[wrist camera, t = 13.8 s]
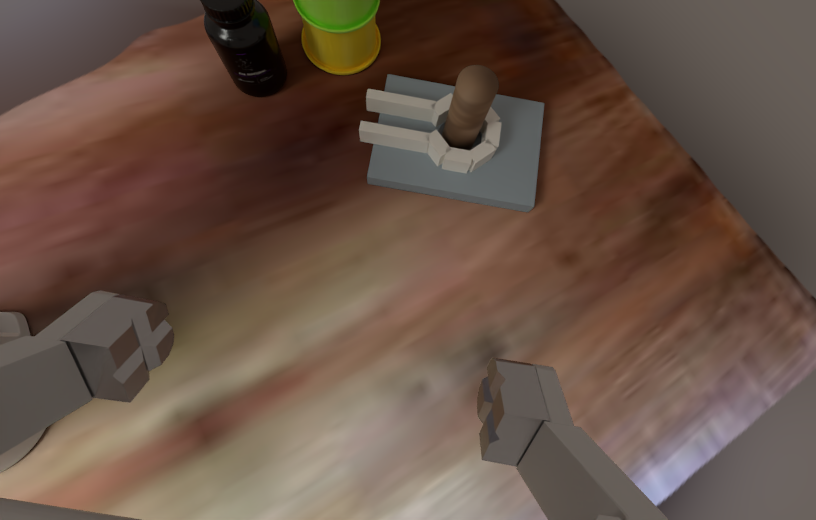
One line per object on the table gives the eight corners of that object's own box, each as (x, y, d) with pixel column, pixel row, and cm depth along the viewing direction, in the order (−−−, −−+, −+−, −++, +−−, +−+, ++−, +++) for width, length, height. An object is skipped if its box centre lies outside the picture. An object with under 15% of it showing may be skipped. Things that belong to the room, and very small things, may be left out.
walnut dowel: (439, 150, 45) (454, 97, 35) (444, 120, 46) (460, 61, 36) (472, 156, 45) (496, 105, 35) (476, 126, 46) (500, 69, 36)
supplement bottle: (259, 109, 47) (217, 33, 35) (222, 74, 48) (169, -11, 36) (300, 76, 48) (272, -8, 37) (263, 42, 49) (225, -51, 37)
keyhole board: (354, 181, 46) (351, 164, 41) (375, 82, 49) (374, 56, 44) (527, 212, 46) (542, 199, 42) (538, 112, 49) (552, 90, 45)
